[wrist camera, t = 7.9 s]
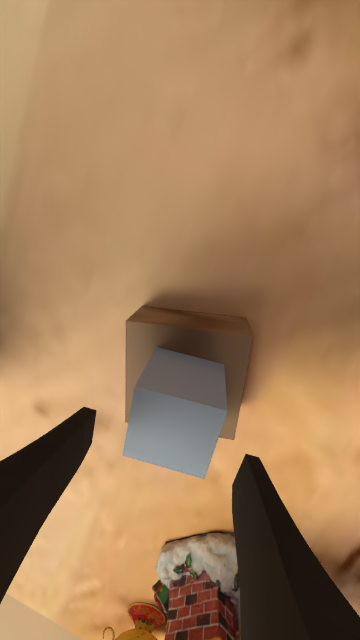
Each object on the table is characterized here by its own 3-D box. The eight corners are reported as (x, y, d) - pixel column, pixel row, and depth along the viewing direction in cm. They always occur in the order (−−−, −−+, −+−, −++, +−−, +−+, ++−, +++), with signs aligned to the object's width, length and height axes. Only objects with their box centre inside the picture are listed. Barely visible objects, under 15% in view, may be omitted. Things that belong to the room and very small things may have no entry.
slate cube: (145, 402, 17) (122, 455, 13) (156, 346, 16) (134, 385, 12) (206, 419, 17) (204, 478, 13) (224, 364, 15) (227, 410, 11)
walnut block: (140, 390, 22) (125, 422, 18) (143, 305, 19) (125, 320, 15) (230, 404, 21) (233, 439, 17) (245, 316, 18) (253, 335, 15)
